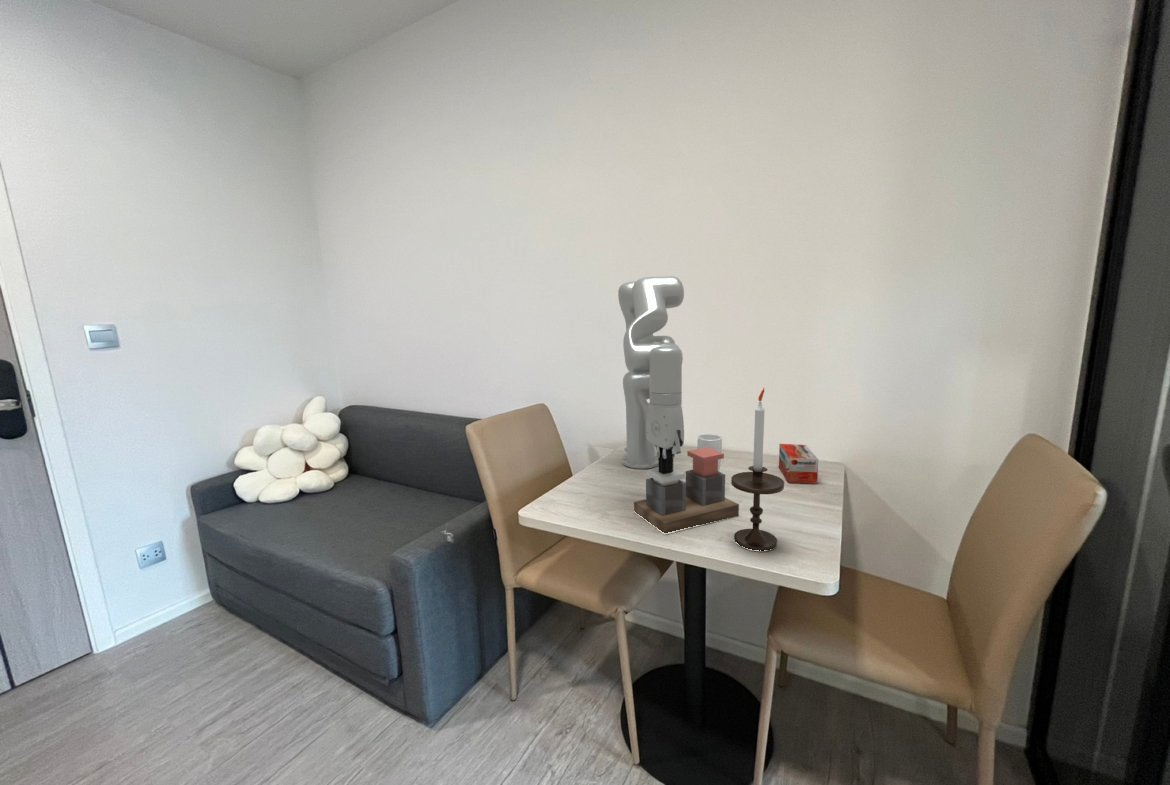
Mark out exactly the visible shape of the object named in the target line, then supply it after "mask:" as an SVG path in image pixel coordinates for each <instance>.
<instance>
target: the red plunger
mask: <svg viewBox="0 0 1170 785" xmlns="http://www.w3.org/2000/svg"><path fill="white" fill-rule="evenodd" d="M686 454H687V457H690V458H691V459H692V470H693V473H695V474H697V475H699V476H702V477H708V476H713V475H717V474H718V459H721V460H723V459H724V458H725V453H723V452H722V453H721V452H718V451H715V450H713V449H710V448H708V447H707V448H702V449H697V448H696V449H692V450H687V453H686Z"/></svg>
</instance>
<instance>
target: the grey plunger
mask: <svg viewBox="0 0 1170 785" xmlns="http://www.w3.org/2000/svg"><path fill="white" fill-rule="evenodd" d="M647 476H648V477H650V478H653V481H655V482H656V483H658V484H660V485H662V486H666V485H671V484H675V483H678V480H684V479H685V473H684V472H682V471H679V470H677V469H676V468H674V467H673V472H672V473H667V474H662V473H660V472H659V468H652V469H648V470H647Z"/></svg>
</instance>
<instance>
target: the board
mask: <svg viewBox="0 0 1170 785" xmlns="http://www.w3.org/2000/svg"><path fill="white" fill-rule="evenodd" d="M725 496H726V474H724V473H723V472H722V471H721V472H720V471H718V474H717V475H713V476H708V477H702V476H699V475H697V474H695V473H693V469H689V470H685V481H683V480H682V479H680V480H678V483H675V484H671V485H666V486H662V485H660V484H658V483H656V482H655V481H653V478H652V477H650V478H646V479H645V499H641V500H637V501H636V500H635V501H633V512H634V511H635V512H636V513H637V514H639V515H640V516H642V517H643V518H644V519H646V520H647V521H648V522H650V523H651V524H652V525H654V526H655V527H657V528H658V529H659V530H661V531H662V532H664V533H668V532H672V531H676V530H680V529H684V528H688V527H693V526H696V525H702V524H705V525H707V524H706V523H709V524H711V523H710V522H713V523H715V522H714V521H717V522H720V521H719V520H721V521H723V520H722V519H724V520H727V518H728V519H731V518H732V519H733V518H735V517H738V516H740V515H739V514H740V509H739V508H740V504H739V503H737V502H735V501H733V500H731V499H729V498H727V497H725ZM702 526H703V525H702Z"/></svg>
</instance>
